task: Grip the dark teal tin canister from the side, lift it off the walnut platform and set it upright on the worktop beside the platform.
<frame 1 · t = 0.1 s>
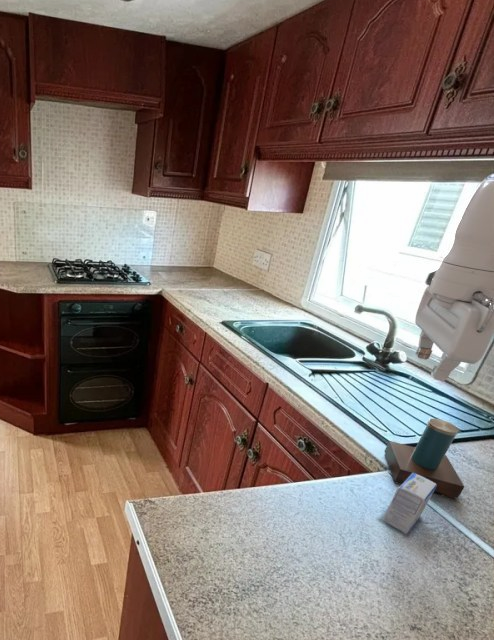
hand: (429, 367, 68), 32 cm above the countertop, tool pointing down, fingers open, 8 cm apart
walnut platform: (416, 475, 94), on the countertop
medicine box: (400, 519, 80), on the countertop
teal canister: (424, 462, 92), point 4 cm above the countertop, touching walnut platform
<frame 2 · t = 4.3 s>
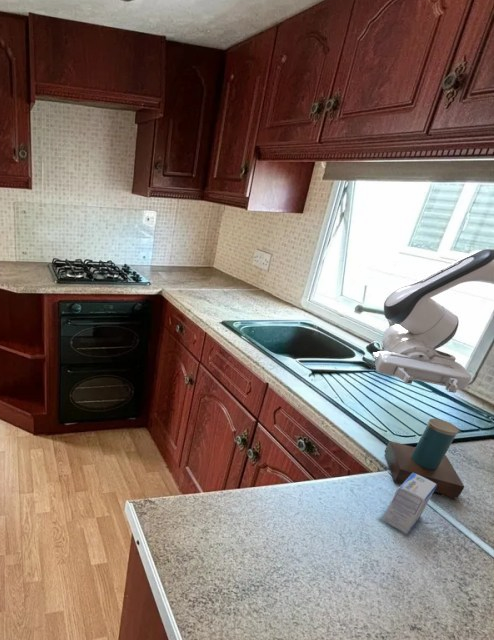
hand: (431, 385, 96), 18 cm above the countertop, tool horizontal, fingers open, 8 cm apart
nothing on the countertop moved.
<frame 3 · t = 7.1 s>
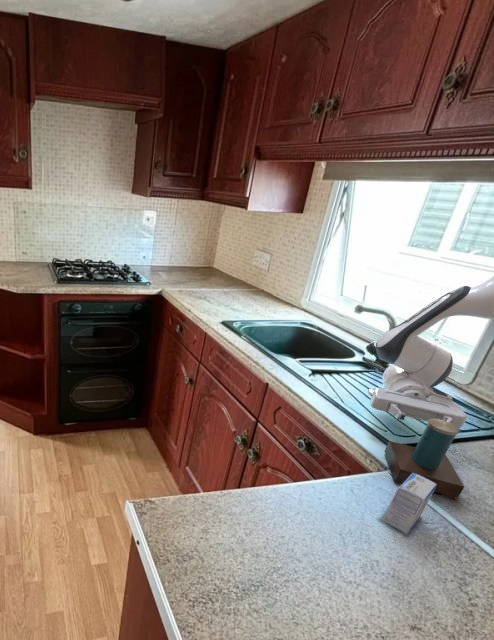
hand: (423, 422, 97), 10 cm above the countertop, tool horizontal, fingers open, 8 cm apart
nothing on the countertop moved.
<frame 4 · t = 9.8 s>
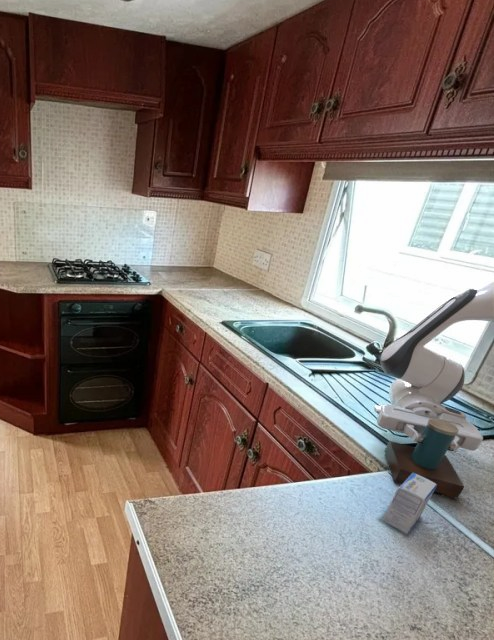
hand: (436, 444, 89), 10 cm above the countertop, tool horizontal, fingers closed on teal canister, 5 cm apart
teal canister: (424, 461, 92), point 4 cm above the countertop, touching gripper, walnut platform
everything else where it was.
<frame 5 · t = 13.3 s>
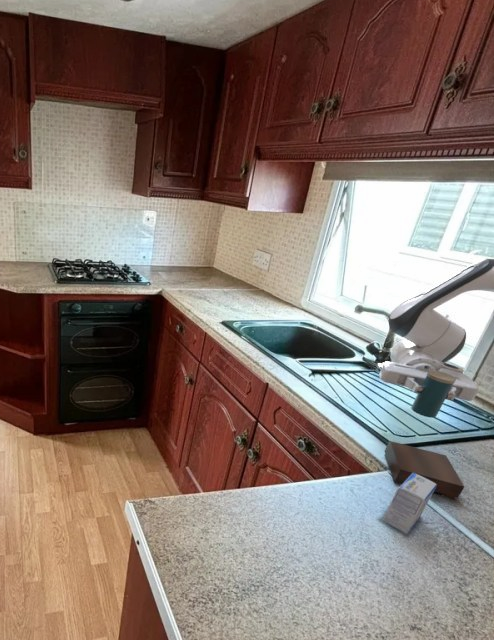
hand: (434, 393, 95), 17 cm above the countertop, tool horizontal, fingers closed on teal canister, 5 cm apart
teal canister: (423, 411, 98), point 11 cm above the countertop, touching gripper
everything else where it was.
when the fingers open (5 cm above the countertop, at t = 17.0 s): teal canister stays where it is, on the countertop.
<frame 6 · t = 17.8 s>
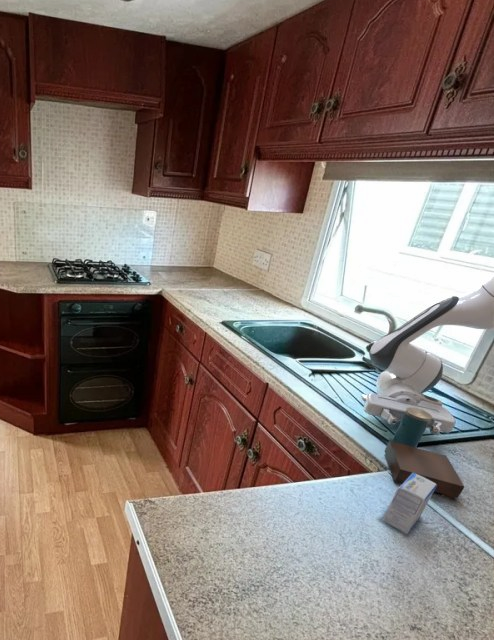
hand: (414, 427, 101), 6 cm above the countertop, tool horizontal, fingers open, 8 cm apart
teal canister: (403, 445, 105), on the countertop
everything else where it was.
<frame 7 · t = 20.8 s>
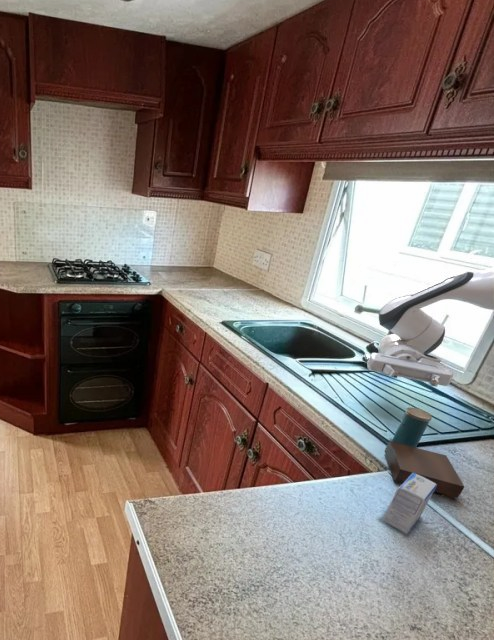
hand: (414, 379, 109), 14 cm above the countertop, tool horizontal, fingers open, 8 cm apart
nothing on the countertop moved.
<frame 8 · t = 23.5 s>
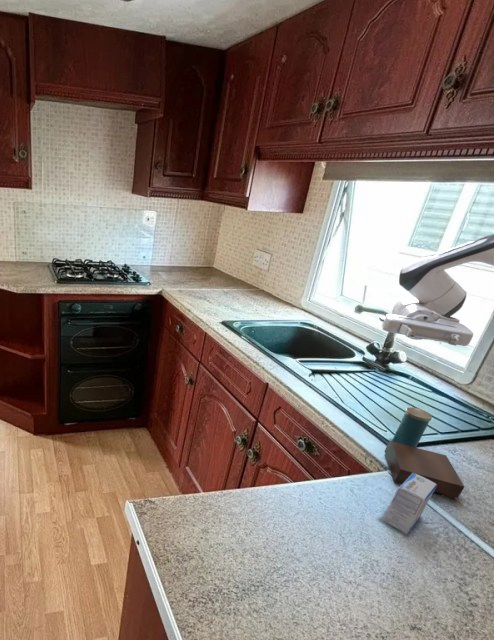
hand: (433, 338, 104), 26 cm above the countertop, tool horizontal, fingers open, 8 cm apart
nothing on the countertop moved.
at the end: teal canister inside the target area (0.1 cm from its centre), on the countertop; teal canister tilted 0°; the gripper is holding nothing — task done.
